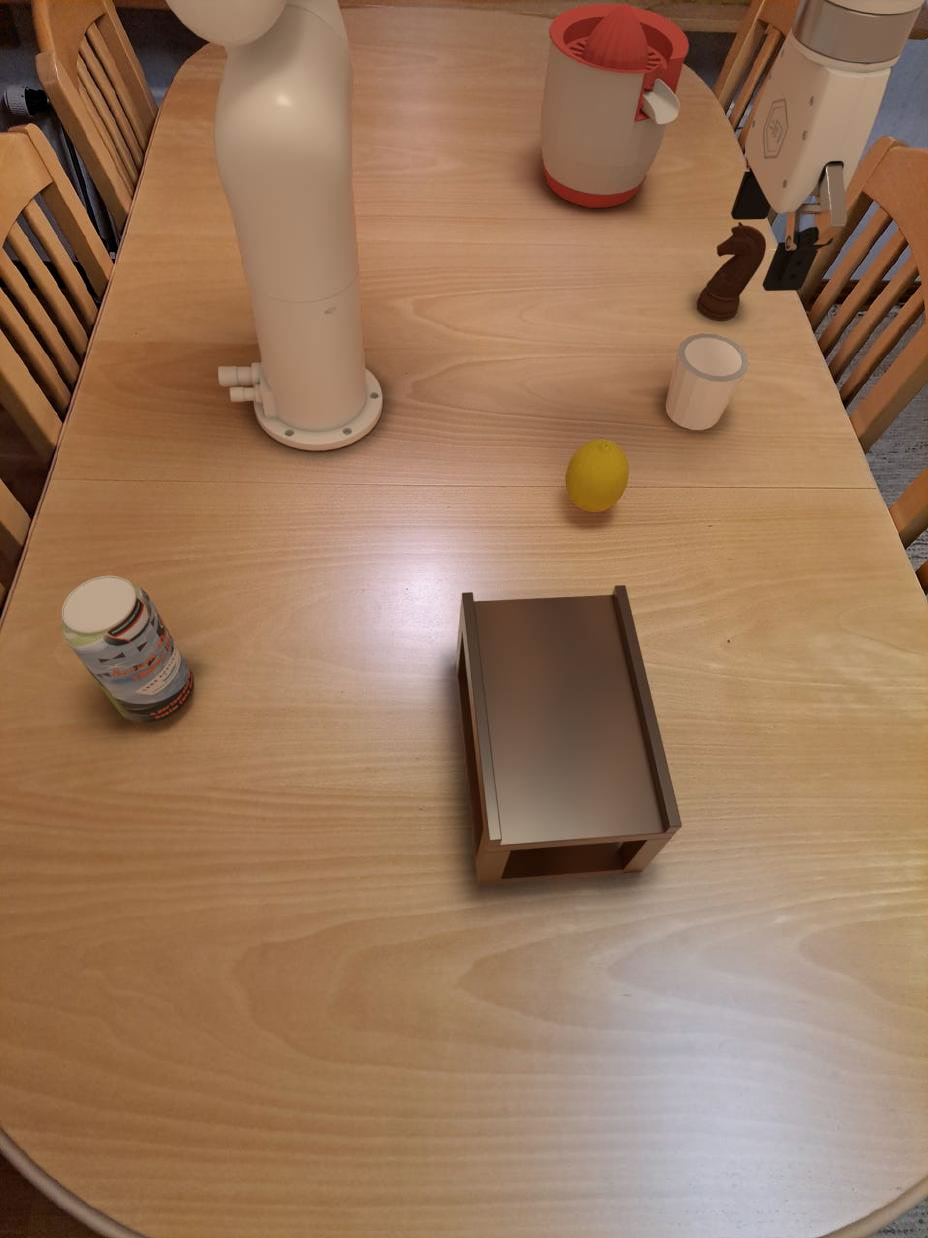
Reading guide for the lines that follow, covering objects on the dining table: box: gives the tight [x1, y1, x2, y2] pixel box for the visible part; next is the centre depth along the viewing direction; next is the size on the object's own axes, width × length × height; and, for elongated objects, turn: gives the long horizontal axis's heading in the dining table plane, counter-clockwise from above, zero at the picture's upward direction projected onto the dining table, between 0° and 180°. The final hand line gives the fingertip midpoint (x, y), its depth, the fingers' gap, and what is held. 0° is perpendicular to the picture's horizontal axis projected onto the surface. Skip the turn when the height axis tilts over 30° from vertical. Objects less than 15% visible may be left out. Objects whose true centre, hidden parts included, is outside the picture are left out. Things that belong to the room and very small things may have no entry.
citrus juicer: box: [539, 2, 690, 209], centre depth 97 cm, size 16×17×20 cm
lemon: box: [564, 438, 630, 513], centre depth 74 cm, size 6×6×8 cm
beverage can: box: [61, 575, 195, 724], centre depth 60 cm, size 6×7×12 cm
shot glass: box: [665, 333, 750, 431], centre depth 82 cm, size 7×7×7 cm
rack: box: [454, 584, 683, 886], centre depth 59 cm, size 12×18×10 cm, turn 5°
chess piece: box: [696, 221, 767, 321], centre depth 90 cm, size 5×5×10 cm
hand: (763, 251), depth 70 cm, fingers open, 9 cm apart
